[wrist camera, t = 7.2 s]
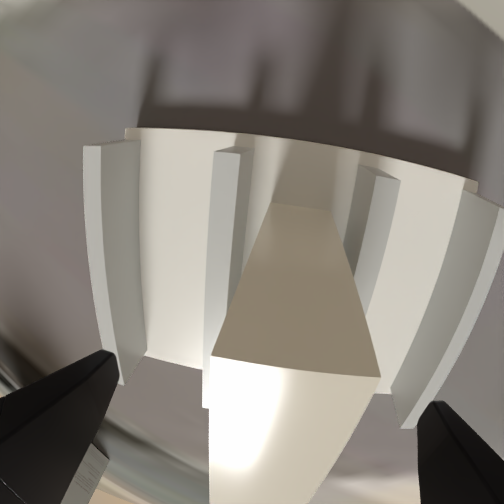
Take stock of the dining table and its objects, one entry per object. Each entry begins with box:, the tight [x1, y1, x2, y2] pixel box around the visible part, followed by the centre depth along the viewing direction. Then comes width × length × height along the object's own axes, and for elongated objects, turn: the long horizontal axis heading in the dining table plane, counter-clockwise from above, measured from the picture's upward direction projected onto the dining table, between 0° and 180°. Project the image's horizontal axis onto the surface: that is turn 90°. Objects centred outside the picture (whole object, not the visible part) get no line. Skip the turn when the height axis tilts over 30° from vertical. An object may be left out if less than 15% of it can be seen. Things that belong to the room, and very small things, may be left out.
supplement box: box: [61, 443, 109, 504], centre depth 20 cm, size 7×7×13 cm
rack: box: [83, 128, 504, 429], centre depth 13 cm, size 15×12×4 cm
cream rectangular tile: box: [209, 202, 381, 504], centre depth 10 cm, size 2×7×9 cm, turn 175°
